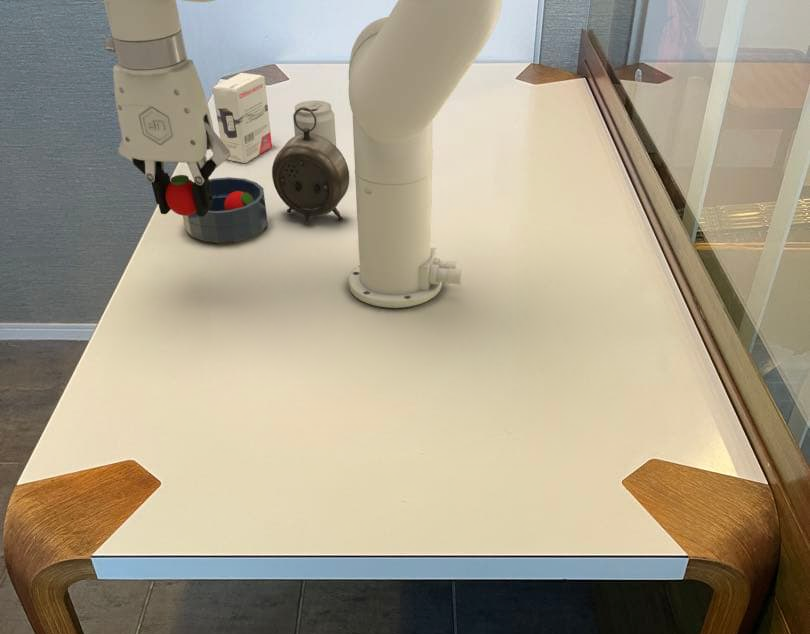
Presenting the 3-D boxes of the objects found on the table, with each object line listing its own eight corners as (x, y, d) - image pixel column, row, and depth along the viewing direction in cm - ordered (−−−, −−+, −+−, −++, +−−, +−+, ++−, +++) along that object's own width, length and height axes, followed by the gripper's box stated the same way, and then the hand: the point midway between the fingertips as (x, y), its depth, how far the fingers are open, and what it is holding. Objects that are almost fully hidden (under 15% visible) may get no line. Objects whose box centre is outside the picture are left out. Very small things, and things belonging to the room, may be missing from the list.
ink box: (250, 142, 153) (241, 70, 145) (273, 147, 152) (265, 74, 143) (222, 159, 148) (210, 85, 140) (245, 164, 146) (235, 89, 138)
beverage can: (292, 187, 139) (284, 109, 131) (313, 173, 143) (306, 96, 135) (325, 194, 137) (319, 115, 129) (345, 180, 141) (341, 102, 133)
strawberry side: (210, 207, 110) (202, 172, 106) (196, 222, 107) (189, 186, 103) (178, 205, 110) (170, 170, 107) (164, 220, 107) (155, 184, 104)
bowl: (278, 213, 133) (274, 181, 129) (251, 249, 124) (246, 216, 121) (205, 206, 135) (199, 174, 131) (173, 241, 126) (166, 208, 123)
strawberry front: (247, 217, 132) (264, 202, 129) (236, 233, 129) (253, 219, 126) (225, 195, 129) (242, 179, 126) (214, 211, 127) (231, 196, 124)
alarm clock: (352, 216, 131) (346, 104, 120) (340, 232, 128) (333, 117, 116) (286, 208, 134) (274, 97, 122) (273, 223, 130) (259, 110, 119)
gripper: (66, 59, 94) (112, 219, 107) (209, 63, 91) (238, 228, 104) (98, 38, 99) (138, 194, 112) (234, 42, 96) (259, 202, 109)
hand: (186, 209), depth 108 cm, fingers closed on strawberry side, 4 cm apart
